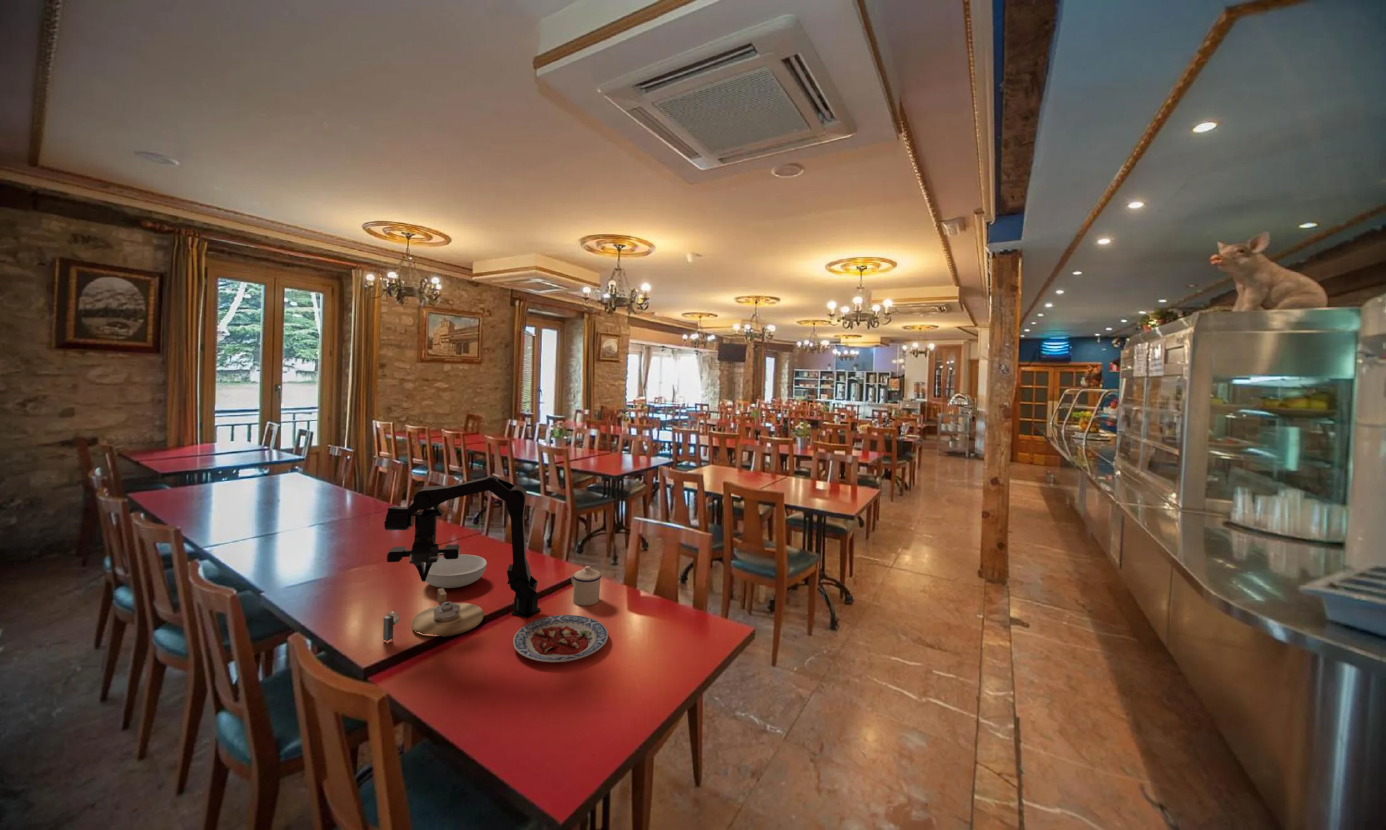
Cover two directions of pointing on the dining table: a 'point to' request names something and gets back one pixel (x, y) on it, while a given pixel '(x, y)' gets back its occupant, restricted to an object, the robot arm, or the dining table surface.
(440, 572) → the serving bowl
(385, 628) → the dial gauge
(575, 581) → the teacup with lid
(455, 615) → the cover
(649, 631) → the dining table surface
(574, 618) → the ceramic plate
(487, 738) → the dining table surface
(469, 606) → the tan piece
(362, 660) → the dining table surface
